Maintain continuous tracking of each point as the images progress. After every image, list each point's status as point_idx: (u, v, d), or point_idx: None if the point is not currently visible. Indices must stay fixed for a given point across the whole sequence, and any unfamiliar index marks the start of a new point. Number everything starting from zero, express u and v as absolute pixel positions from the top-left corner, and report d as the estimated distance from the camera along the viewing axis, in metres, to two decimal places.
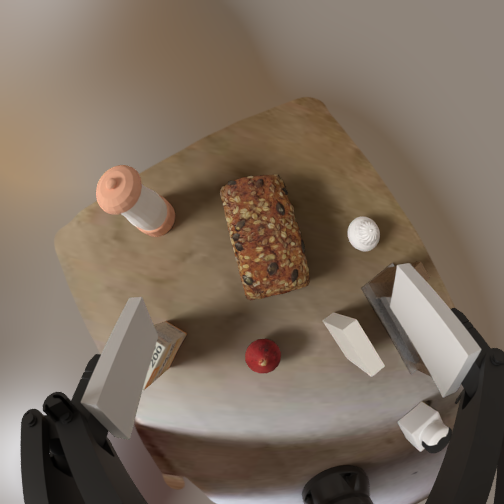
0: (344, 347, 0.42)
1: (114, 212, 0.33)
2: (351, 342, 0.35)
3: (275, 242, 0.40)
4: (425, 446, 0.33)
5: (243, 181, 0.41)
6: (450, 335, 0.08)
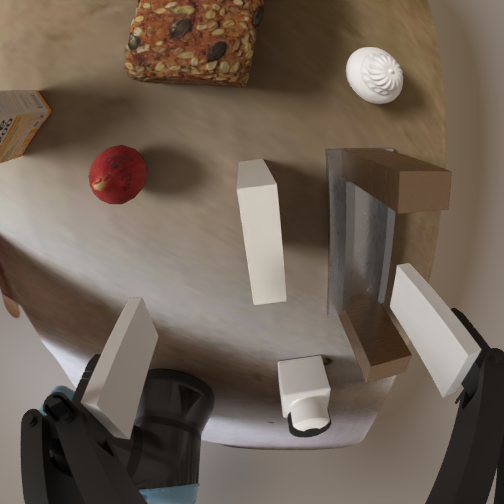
0: None
1: None
2: (244, 223, 0.18)
3: None
4: (289, 423, 0.33)
5: None
6: (450, 335, 0.08)
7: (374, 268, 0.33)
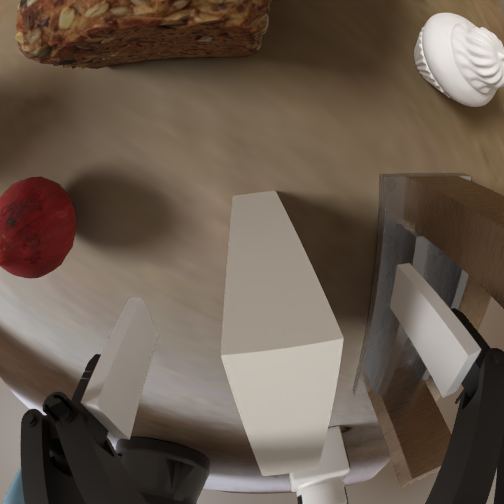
0: None
1: None
2: (245, 410, 0.06)
3: None
4: None
5: None
6: (450, 335, 0.08)
7: None
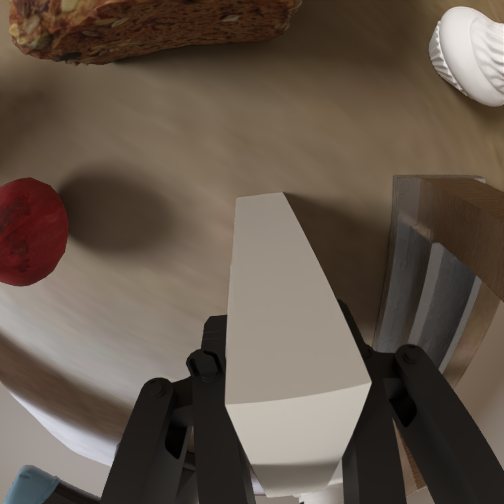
0: None
1: None
2: (252, 450, 0.05)
3: None
4: None
5: None
6: None
7: (431, 346, 0.20)
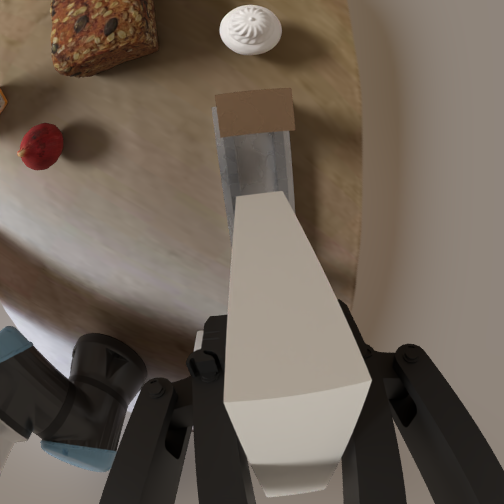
0: None
1: None
2: (251, 449, 0.05)
3: None
4: None
5: None
6: None
7: None
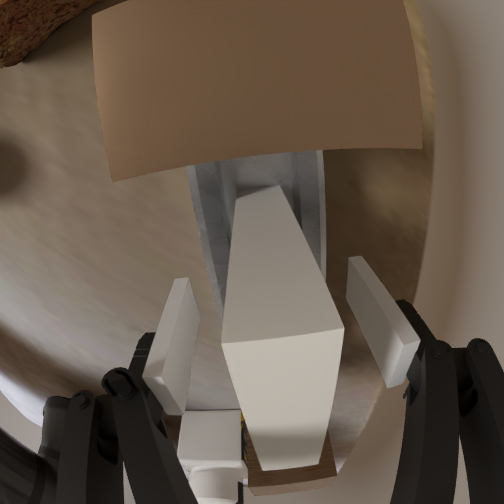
0: None
1: None
2: (245, 401, 0.06)
3: None
4: None
5: None
6: (389, 324, 0.09)
7: None
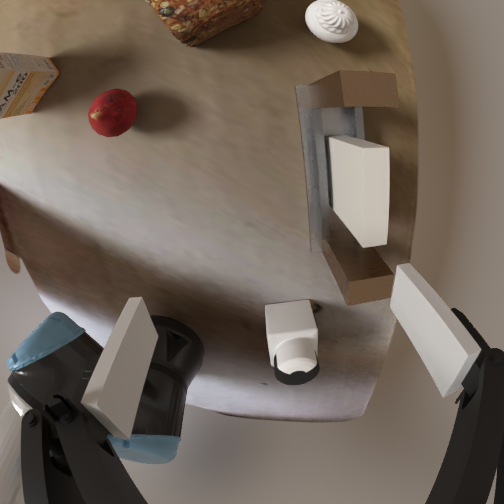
0: (339, 185, 0.28)
1: None
2: (365, 176, 0.21)
3: None
4: (275, 365, 0.35)
5: None
6: (450, 335, 0.08)
7: None
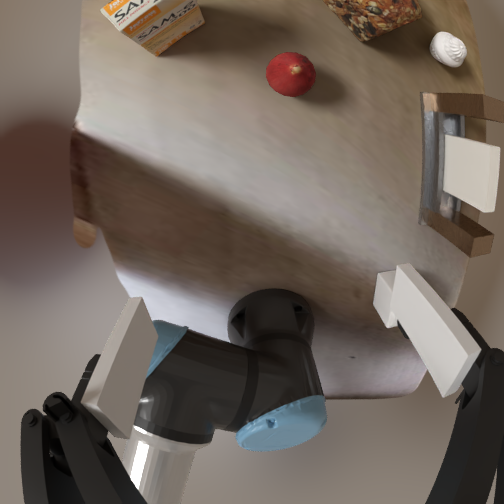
0: (456, 170, 0.31)
1: None
2: (489, 163, 0.23)
3: None
4: None
5: None
6: (450, 335, 0.08)
7: None
